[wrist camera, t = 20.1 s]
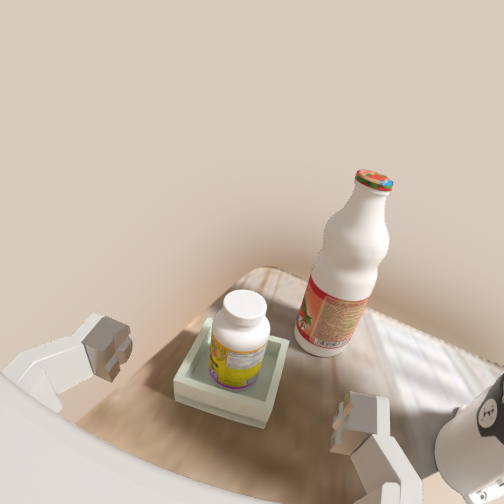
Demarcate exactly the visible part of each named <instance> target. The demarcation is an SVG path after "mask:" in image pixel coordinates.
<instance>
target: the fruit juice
mask: <svg viewBox="0 0 504 504" xmlns="http://www.w3.org/2000/svg"><path fill="white" fill-rule="evenodd" d="M354 182H355V184H356V186H355V189H354V192H353V194H352V196H351V198H350V199H349V201H348V202H347V204H346V205H345V206H344V208H343V209H341V210H340V211H338V212H337V213H335V214H334V215H333V216H332V217H331V218H330V219H329V220H328V222H327V224H326V227H325V229H324V235H323V236H324V237H323V239H324V240H323V248H322V250H321V251H320V252H319V253H318V255H317V257H316V260H315V262H314V265H313V268H312V271H311V275H310V278H309V282H308V285H307V288H306V292H305V295H304V298H303V301H302V305H301V308H300V311H299V314H298V317H297V320H296V324H295V328H294V335H295V339H296V341H297V343H298V344H299V345H300V346H301V347H302V348H303V349H304V350H305V351H307V352H309V353H311V354H313V355H316V356H320V357H332V356H335V355H337V354H339V353H341V352H342V351H343V350H344V349H345V347H346V346H347V344H348V342H349V340H350V338H351V336H352V334H353V332H354V330H355V328H356V326H357V324H358V322H359V319H360V317H361V315H362V313H363V311H364V308H365V306H366V304H367V302H368V299H369V297H370V295H371V293H372V291H373V288H374V285H375V282H376V279H377V273H378V271H377V267H378V265H379V264H380V262H381V261H382V259H383V258H384V257H385V255H386V253H387V251H388V247H389V234H388V230H387V228H386V224H385V203H386V198H387V196H388V195H389V194H390V193H391V190H392V187H393V181H392V180H391V179H389V178H388V177H386V176H384V175H382V174H379V173H377V172H373V171H369V170H358V171H357V174H356V176H355V181H354Z"/></svg>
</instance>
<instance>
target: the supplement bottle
mask: <svg viewBox="0 0 504 504" xmlns="http://www.w3.org/2000/svg"><path fill="white" fill-rule="evenodd" d="M266 309H267V304H266V301H265V299H264V298H263V297H262V296H261V295H259V294H258V293H256V292H253V291H250V290H235V291H232V292H230V293H228V294H227V295H226V296H225V298H224V300H223V307H222V309H221V310H220V311H219V312H218V313H217V314H216V315H215V317H214V319H213V322H212V332H211V343H210V355H209V375H210V377H211V379H212V381H213V382H214V383H215V384H216V385H217V386H219V387H220V388H222V389H224V390H227V391H243V390H246V389H248V388H250V387H251V386H252V385H253V384H254V383H255V382H256V380H257V378H258V375H259V372H260V368H261V364H262V360H263V357H264V353H265V349H266V346H267V342H268V338H269V334H270V324H269V321H268V319H267V318H266V316H265V315H266Z"/></svg>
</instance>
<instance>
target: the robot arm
mask: <svg viewBox="0 0 504 504" xmlns="http://www.w3.org/2000/svg"><path fill="white" fill-rule="evenodd" d="M129 334H130V328H129V326H128V325H125V324H123V323H121V322H118V321H116V320H114V319H112V318H109V317H107V316H105V315H103V314H100V313H98V312H94V313H92V314H91V315H90V316H89V317H88V318H87V319H86V320H85V321H84V322H83V324H82V325H81V326H80V327H79V328H78V329H77V330H76V331H75V332H74V333H73V335H72V336H71V337H69V336H66V337H63V338H60V339H57V340H54V341H51V342H49V343H46V344H43V345H40V346H37V347H34V348H31V349H28V350H26V351H23V352H20V353H19V354H18V355H17V356H16V357H15V358H14V360H13V361H12V362H11V363H10V364H9V365H8V366H7V367H6V369H5V370H4V371H3V372H2V373H1V372H0V504H282V503H277V502H273V501H268V500H264V499H259V498H255V497H251V496H247V495H243V494H239V493H236V492H232V491H228V490H225V489H222V488H218V487H215V486H212V485H209V484H206V483H203V482H200V481H197V480H194V479H191V478H188V477H185V476H183V475H180V474H177V473H175V472H172V471H169V470H167V469H164V468H162V467H160V466H157V465H155V464H152V463H150V462H148V461H145V460H143V459H141V458H139V457H137V456H134V455H132V454H130V453H128V452H126V451H124V450H122V449H120V448H118V447H116V446H114V445H112V444H110V443H108V442H106V441H104V440H102V439H100V438H98V437H97V436H95V435H93V434H91V433H89V432H88V431H86V430H84V429H82V428H81V427H79V426H77V425H75V424H74V423H72V422H70V421H69V420H67V419H66V418H64V417H62V416H61V415H59V414H58V413H59V412H60V410H61V409H62V407H63V404H62V402H61V400H60V399H59V397H58V394H59V393H61V392H63V391H65V390H67V389H69V388H71V387H73V386H75V385H77V384H79V383H81V382H82V381H84V380H86V379H88V378H90V377H92V376H94V375H97V376H99V377H101V378H103V379H105V380H107V381H110V382H113V380H114V379H115V377H116V376H117V374H118V373H119V371H120V365H121V364H123V363H126V361H127V360H128V359H129V357H130V354H131V352H132V340H131V339H130V337H129V336H128V335H129ZM332 427H333V428H334V430H335V432H334V433H333V434H332V436H331V439H330V447H329V452H333V453H338V454H344V455H350V458H351V460H352V462H353V464H354V467H355V469H356V471H357V474H358V476H359V478H360V480H361V483H362V485H363V487H364V490H365V492H366V494H367V495H366V496H364V497H363V498H361V499H359V500H358V501H356V502H355V503H353V504H423V482H422V481H421V479H420V477H419V476H418V474H417V473H416V471H415V469H414V468H413V466H412V465H411V463H410V462H409V460H408V458H407V457H406V455H405V454H404V452H403V451H402V449H401V447H400V446H399V444H398V443H397V441H396V440H395V438H394V437H392V436H390V407H389V399H388V398H387V397H381V396H374V395H371V394H365V393H359V392H353V391H348V392H347V393H346V394H345V396H344V401H343V402H341V403H339V405H338V407H337V409H336V411H335V414H334V418H333V424H332ZM435 460H436V464H437V468H438V470H439V472H440V474H441V476H442V478H443V479H444V481H445V482H446V483H447V484H448V485H449V486H450V487H451V488H452V489H454V490H456V491H457V492H458V493H460V494H461V495H462V496H463V498H464V500H465V501H466V503H467V504H486V503H488V502H490V501H493V500H495V499H497V498H500V497H502V496H504V374H503V375H501V377H499V378H498V379H497V380H496V382H495V383H494V385H493V386H490V387H488V388H487V389H486V390H485V391H484V392H483V393H481V394H480V395H479V396H478V397H477V398H476V399H475V400H474V401H472V402H471V403H470V404H469V405H466V404H465V405H463V406H461V407H460V408H459V409H458V411H457V413H456V415H455V417H454V418H453V419H452V420H450V421H449V422H447V423H446V424H445V425H444V426H443V427H442V428H441V430H440V431H439V433H438V436H437V438H436V442H435ZM480 497H481V498H480Z"/></svg>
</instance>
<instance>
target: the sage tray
mask: <svg viewBox="0 0 504 504" xmlns="http://www.w3.org/2000/svg"><path fill="white" fill-rule="evenodd" d="M212 322H213V319H212V318H209V317H208V318H207V320H206V321H205V323H204V325H203V327H202V329H201V330H200V332H199V334H198V336H197V338H196V339H195V341H194V343H193V345H192V347H191V348H190V350H189V352H188V354H187V356H186V357H185V359H184V361H183V363H182V365H181V367H180V368H179V370H178V372H177V374H176V376H175V377H174V379H173V384H174V396H175V401H177V402H179V403H182V404H185V405H188V406H190V407H193V408H196V409H199V410H202V411H205V412H208V413H211V414H214V415H217V416H220V417H223V418H226V419H230V420H233V421H236V422H240V423H243V424H247V425H250V426H254V427H258V428H261V429H265V427H266V424H267V422H268V419H269V417H270V414H271V412H272V409H273V405H274V401H275V397H276V394H277V390H278V386H279V382H280V378H281V374H282V370H283V366H284V362H285V358H286V354H287V350H288V346H289V342H290V340H286V339H282V338H279V337H275V336H271V335H269V338H268V342H267V346H266V349H265V353H264V357H263V360H262V364H261V368H260V372H259V375H258V378H257V380H256V382H255V383H254V384H253V385H252V386H251V387H250V388H248V389H246V390H243V391H227V390H224V389H222V388H220V387H219V386H217V385H216V384H215V383H214V382H213V381H212V379H211V377H210V375H209V355H210V343H211V332H212Z"/></svg>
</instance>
